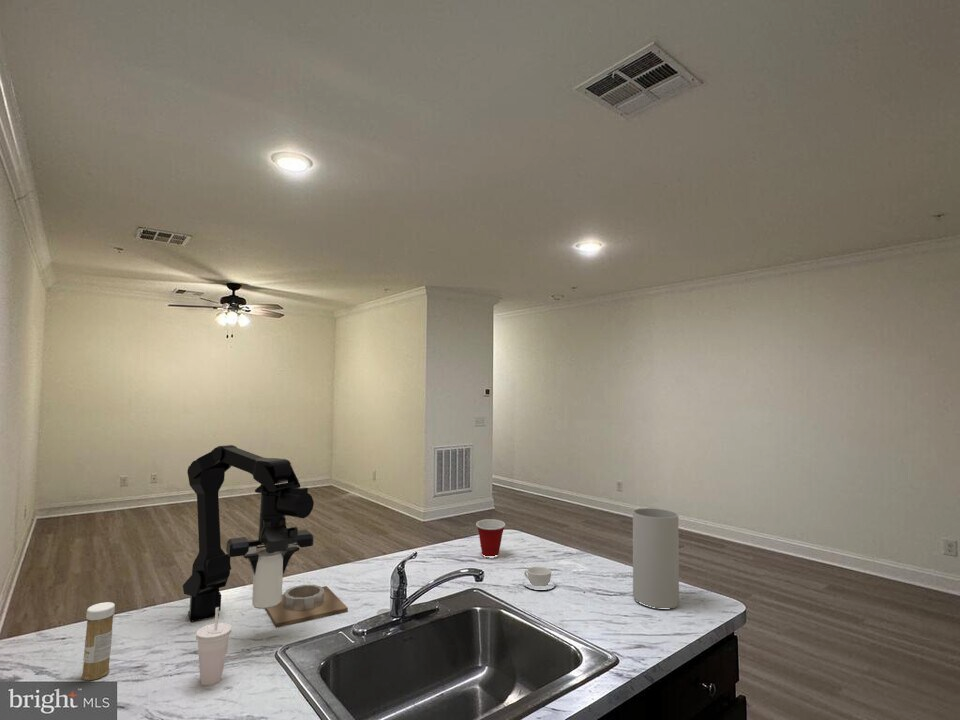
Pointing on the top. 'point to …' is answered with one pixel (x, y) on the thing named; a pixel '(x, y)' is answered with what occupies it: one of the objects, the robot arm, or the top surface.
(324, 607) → the base plate
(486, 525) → the plastic cup
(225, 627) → the smoothie
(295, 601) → the ring collar
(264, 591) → the can
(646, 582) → the cylinder vase
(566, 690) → the top surface
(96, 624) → the sprinkles bottle
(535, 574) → the teacup
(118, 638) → the top surface
